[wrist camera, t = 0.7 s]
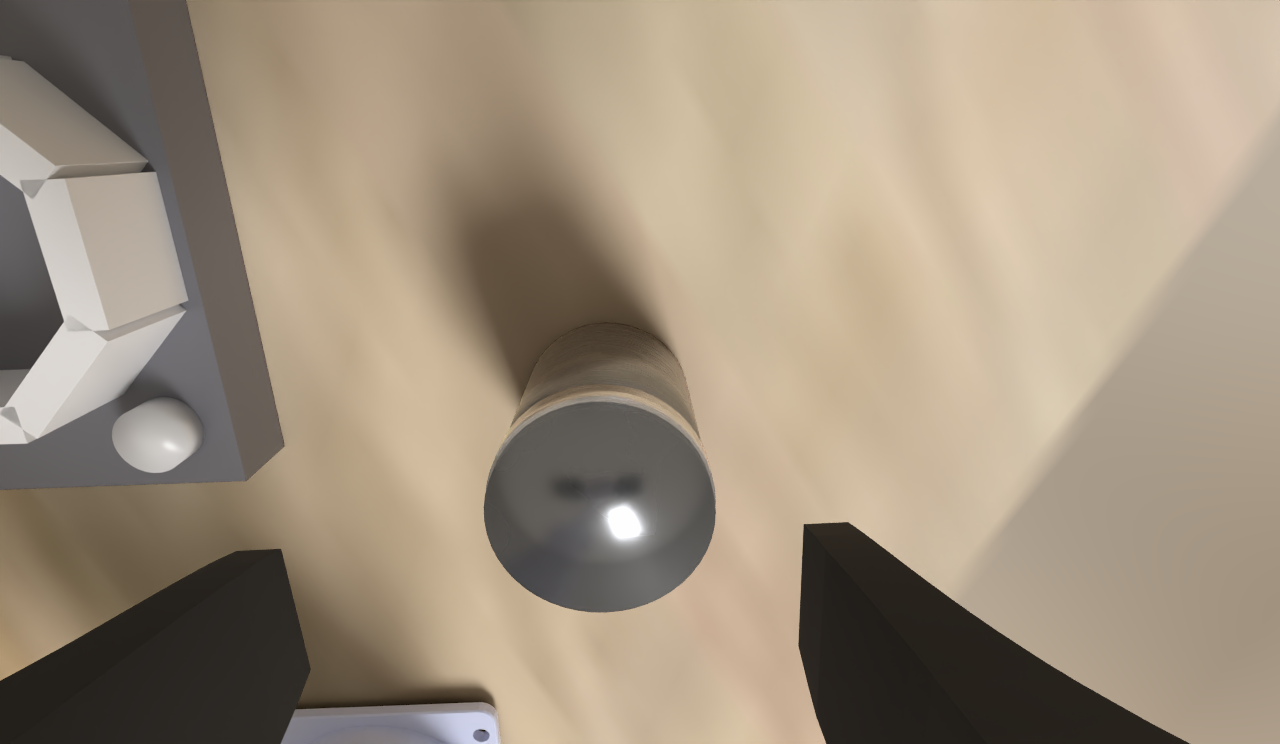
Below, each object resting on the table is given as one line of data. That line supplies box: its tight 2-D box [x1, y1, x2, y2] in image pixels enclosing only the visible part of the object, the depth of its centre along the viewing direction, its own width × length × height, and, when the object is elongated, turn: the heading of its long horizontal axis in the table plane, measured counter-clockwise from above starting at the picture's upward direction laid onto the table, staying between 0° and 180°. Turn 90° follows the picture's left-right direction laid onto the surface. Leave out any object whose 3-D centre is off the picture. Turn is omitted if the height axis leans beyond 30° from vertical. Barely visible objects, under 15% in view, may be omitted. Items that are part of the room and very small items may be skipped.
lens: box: [484, 323, 716, 612], centre depth 16 cm, size 4×4×6 cm
